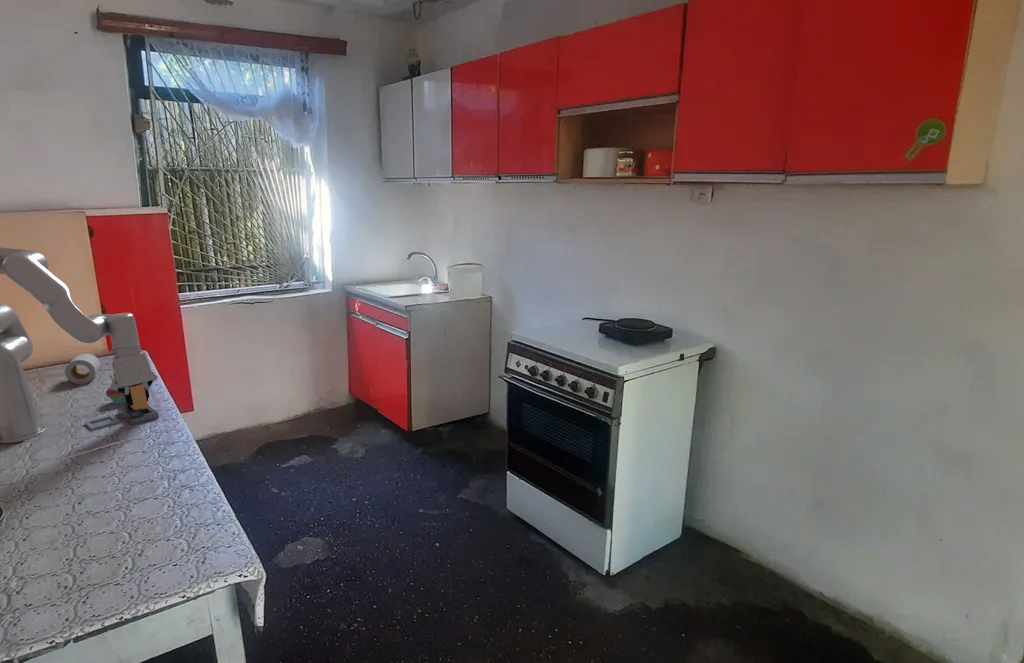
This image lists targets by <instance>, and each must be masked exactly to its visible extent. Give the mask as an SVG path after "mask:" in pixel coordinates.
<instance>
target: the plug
mask: <svg viewBox="0 0 1024 663" xmlns="http://www.w3.org/2000/svg"><path fill="white" fill-rule="evenodd" d="M129 392H130V394H131V397H132V402H133V405H132V406H131V408H133V409H134V410H137V409H140V408H144V407H148V405H149V404H148V401H147V399H146V394H145V389H144V384H143V383H140V384H135V385H131V386H129Z"/></svg>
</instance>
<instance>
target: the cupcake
mask: <svg viewBox="0 0 1024 663" xmlns="http://www.w3.org/2000/svg"><path fill="white" fill-rule="evenodd" d="M108 374H109V378H110V381H111V383H112V382H113V380H114V376H113V375H112V374H111V373H108ZM117 387H120V386H118V384H117ZM121 388H122V387H121ZM105 394H106V397H108V398H109V399H110V400H111V401H112V403H113V404H114V405H122V404H123V405H124V402H123V397H122V394H123V393H121V392H119V391H116V390H112V389H110V387H108V388H107V390H106V391H105Z"/></svg>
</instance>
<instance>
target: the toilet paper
mask: <svg viewBox="0 0 1024 663" xmlns="http://www.w3.org/2000/svg"><path fill="white" fill-rule="evenodd" d="M80 365H81V366H85V368H87V369H88V371H82V370H80V369H79V368H78V366H80ZM100 369H101V362H100V360H99V358H98V357H96V355H94V354H91V353H80V354H77V355H75V356H74V357H73V358H72V360H70V362H69V363H68V364H67V365H66V366H65V369H64V375H65V377H66V379H67V380H69V381H70V382H71V383H74V384H76V385H83V384H87V383H89V382H91V381H92V380H93V379H94V378H95V376H96V375H97V374H98V372H99V370H100Z"/></svg>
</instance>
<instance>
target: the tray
mask: <svg viewBox="0 0 1024 663" xmlns="http://www.w3.org/2000/svg"><path fill="white" fill-rule="evenodd" d="M117 424H121V421H120V419H118V418H117V417H116V416H115V415H114V414H110V415H107V416H102V417H99V418H96V419H91V420H89V421H85V422H84V425H86V427H87V428H88V429H89V430H90V431H96V430H99V429H102V428H106V427H110V426H113V425H117Z"/></svg>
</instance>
